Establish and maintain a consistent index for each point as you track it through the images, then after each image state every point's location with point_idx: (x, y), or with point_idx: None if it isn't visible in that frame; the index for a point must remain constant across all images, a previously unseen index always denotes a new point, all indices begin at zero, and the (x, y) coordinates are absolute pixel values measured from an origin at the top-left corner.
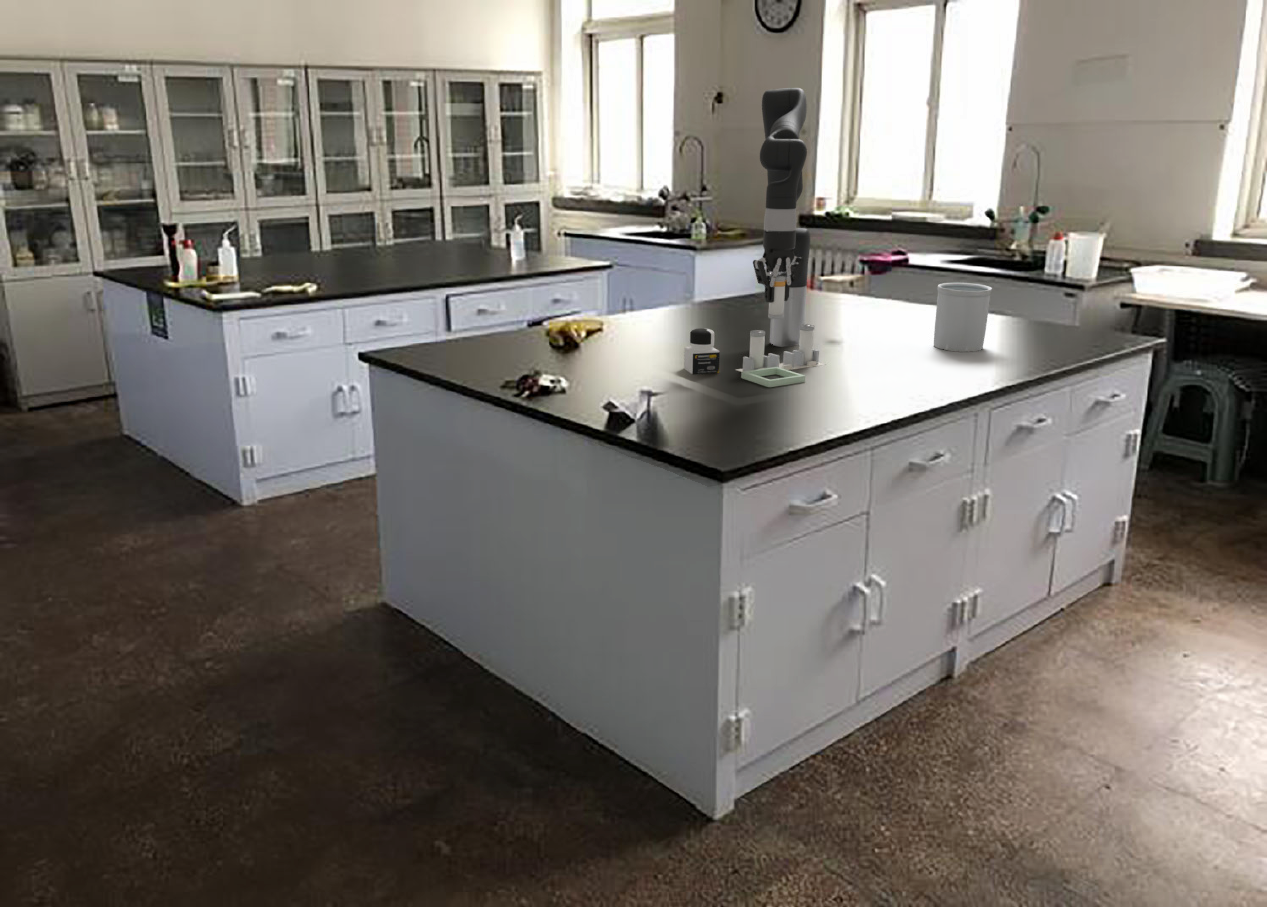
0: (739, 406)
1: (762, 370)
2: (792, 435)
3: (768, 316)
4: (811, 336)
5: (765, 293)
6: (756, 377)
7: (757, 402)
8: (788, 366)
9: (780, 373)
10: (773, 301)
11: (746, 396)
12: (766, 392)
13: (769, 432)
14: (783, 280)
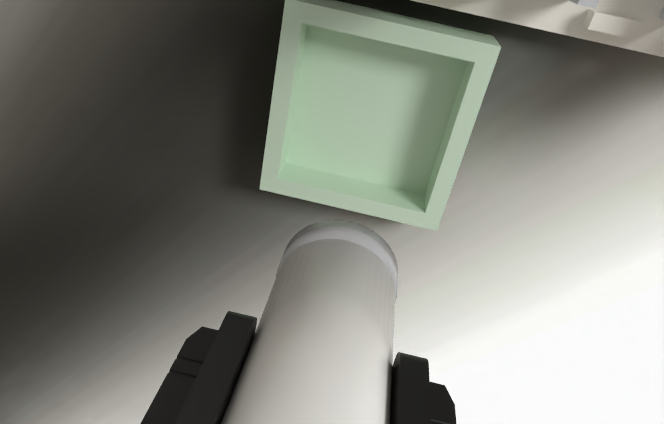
0: (83, 203)
1: (392, 42)
2: (53, 408)
3: (289, 244)
4: None
5: (168, 381)
6: (270, 111)
7: (159, 212)
8: (611, 33)
9: (462, 90)
10: None
11: (178, 142)
12: None
13: (20, 371)
14: None
